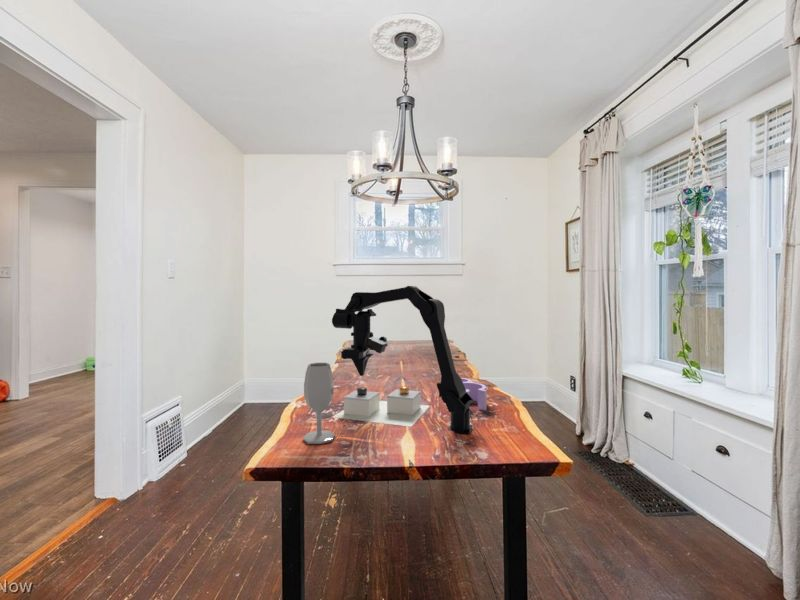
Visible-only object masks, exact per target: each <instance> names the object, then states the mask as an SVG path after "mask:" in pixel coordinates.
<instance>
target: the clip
mask: <svg viewBox="0 0 800 600" xmlns="http://www.w3.org/2000/svg"><path fill="white" fill-rule="evenodd" d="M460 378H461V380H462V382H463V384H464V387H465V389H466V392H467V393H468V394H469V396H470V397H471V398H472V399H473V402H475V401H477V402H476V403H477V409H478V410H482V411H487V400H488V399H487V391H488V390H487V386H486V385H485V384H483V383H480V382H476V381H475V382H474V381H472V379H470V378H465V377H460ZM470 408H471V407H469V409H470Z"/></svg>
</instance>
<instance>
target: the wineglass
mask: <svg viewBox="0 0 800 600" xmlns="http://www.w3.org/2000/svg"><path fill="white" fill-rule="evenodd" d="M303 383H304V384H303V396H304V400H305V403H306V406H308V407H309V408H310V409H311V410H312V411H313V412H314V413H316V430H315V431H314V430H313V431H310V432H306V434H305V435H304V436H303V441H304V442H305V443H306V444H307V445H322V444H323V445H324V444H326V443H330V442H333V440H334V439H335V436H336V434H335V433H334V432H332V431H331V430H323V429H322V428H323V425H322V423H323V422H322V418H323V417H322V415H323V414H322V413H323V412H324V411H325V410H326V409H327V408H328V407H330V405H331V404H332V401H333V396H334V387H335V386H334V378H333V371H332V368H331V364H330V363H328V362H311V363H309V364H307V367H306V371H305V376H304V382H303Z"/></svg>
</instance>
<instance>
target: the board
mask: <svg viewBox="0 0 800 600" xmlns="http://www.w3.org/2000/svg"><path fill="white" fill-rule="evenodd" d="M379 404H380V409H379V410H378V411H376V412H375V413H374V414H373V415H371V416H370V417H362V416H353V415H345V414H344V409H342V410H340V411H339V412H338V413H336V414H334V415H333V416H332V418H337V419H343V420H344V419H345V420H353V421H361V422H369V423H377V424H386V425H392V426H393V425H395V426H400V427H410V428H412V427H413V426H414V425H415V423H417V421H418V420H419V419H420V418H421V417H422V415H424V413H426V411H427V410H428V409H429V408H430V405H428V404H427V405H426V404H421V408H420V409H419V410H418V411H417V412H416V413H415V414H414V415H413V416H409V415H400V414H391V413H387V400H379Z"/></svg>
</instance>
